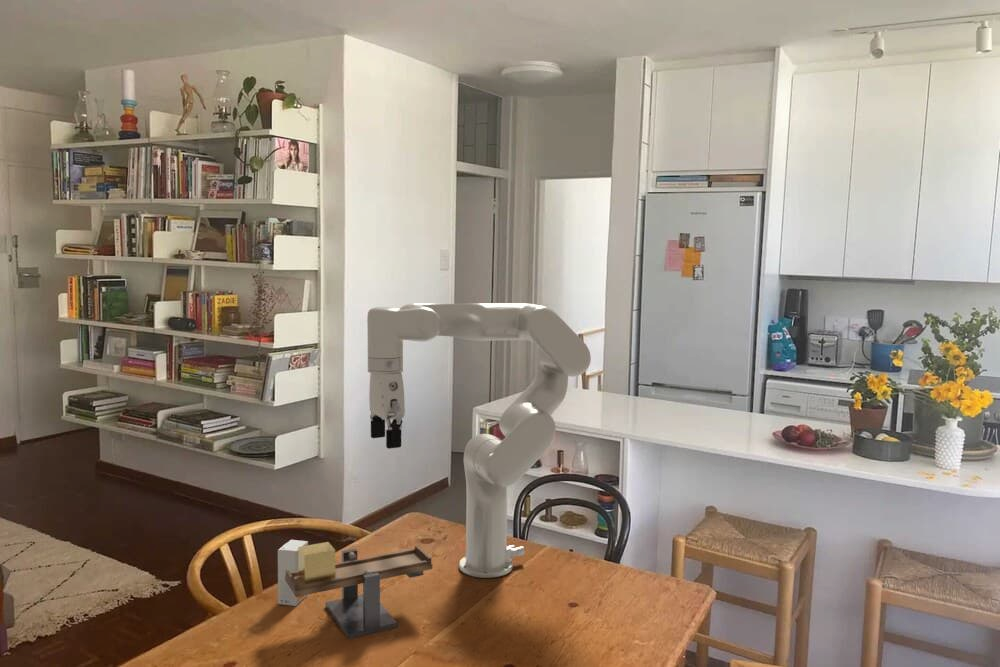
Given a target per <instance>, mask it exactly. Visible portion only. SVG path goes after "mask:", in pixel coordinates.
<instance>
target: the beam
mask: <svg viewBox="0 0 1000 667" xmlns="http://www.w3.org/2000/svg"><path fill="white" fill-rule="evenodd" d="M348 556H349V558H350V559H351V560H353V561H347V562H342V561H341V562H338V563H335V576H336V578H335V579H330V580H325V581H320V582H315V583H310V584H305V585H304V583H303V582H302V580H301V579H300V578H299V571H295V572H290V571H289V570H286V575H285V581H286V582H287V584H288V585H289V587H290V589H291V590H292V592H293V593H294V595H295V597H299V596H303V595H307V596H308V595H312V594H317V593H323V592H327V591H332V590H336V589H342V587H347V586H352V585H357V584H358V585H361V584H362V585H363V575H368V574H373V573H379V574H380V581H381V580H385V579H390V578H395V577H399V576H404V575H406V576H407V577H408V578H410V579H412V578H417V577H421V576H424V571H429V570H432V569H433V563H432V556H430V555H429V554H428V553H427V552H426V551H424V549H422V548H421V547H420V546H419V545H418V544H417V545H415V546H414V548H412V549H411V548H410V549H406V550H401V551H400V550H399V551H395V552H390V553H385V554H379V555H374V556H370V557H365V558H359V559H358V558H357V560H355V559H356V555H355V554H354V553H353V552H350V553H349V555H348Z"/></svg>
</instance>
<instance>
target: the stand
mask: <svg viewBox="0 0 1000 667" xmlns="http://www.w3.org/2000/svg"><path fill="white" fill-rule="evenodd" d="M350 552H353V553H354V554H355V555H356V559H355V560H358V549H357V548H352V549H351V548H350V549H346V550H341V563H342V562H347V561H353V560H351V559H350V558H349V556H348V555H349V553H350ZM358 585H359V584H357V585H352V586H347V587H342V588H341V595H342V598H341V599H335V600H330V601H326V602H325V608H326V610H327V611H328V612H329V614H330V615H331V617H332V619H334V621H335V623H336V624H337V625H338V627H339V628H340V630H341V631H342V633H343V634H344V635H345V637H346V639H348V640H350V639H354V638H358V637H364V636H366V635H371V634H374V633H380V632H383V631H387V630H392V629H397V628H398V622H397V620H396V619H395V618H394V617H393V616H392V615H391V613H390V612H389V611H388V610H387V609H386V608H385V606H384V605H383V604H382V603H381V580H380V574H379V573H373V574H368V575H363V583H362V594H359V591H358V590H359V589H358V588H359V587H358Z"/></svg>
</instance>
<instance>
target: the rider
mask: <svg viewBox="0 0 1000 667" xmlns="http://www.w3.org/2000/svg"><path fill="white" fill-rule="evenodd" d="M298 562H299V578H300V579H301V580H302V582H303V583H304V585H305V584H310V583H315V582H320V581H325V580H330V579H335V578H336V576H335V564H336V549H335V547H334V546H332V544H331V543H330V542H329V541H326V542H319V543H313V544H308V545H307V546H302V547H298Z"/></svg>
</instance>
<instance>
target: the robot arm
mask: <svg viewBox="0 0 1000 667" xmlns="http://www.w3.org/2000/svg"><path fill="white" fill-rule="evenodd" d="M366 322H367V326H366V328H367V372H368V373H370V375H369V377H370V378H369V395H368V396H369V412H370V415H369V418H370V438H371V439H379V438H385V437H386V438H385V444H386V445H385V447H386V449H397V448H398V449H399V448H401V447H402V429H403V425H402V424H403V418H404V417H405V416H406V410H405V409H406V404H405V389H404V388H405V386H404V379H403V372H404V341H412V342H421V343H422V342H423V343H424V342H429V341H431V340H434V339H435V338H437V337H452V338H459V339H463V340H467V341H468V340H469V341H476V342H487V341H488V342H489V341H492V342H493V341H528V342H532V343H534V344H535V345H537V348H536V352H535V354H536V355H535V356H536V363H537V364H536V365H537V367H536V372H535V375H534V378H533V380H532V382H531V383H530V384H529V385H528V386H527V387H526V389H525V390H524V391H523V392H522V393H521V394H520V395H519V396H518V397H517V398H516V399H515V400H514V401H513V402H512V403H511V404H510V405H509V407H507V408H506V409H505V410H504V412H502V414H501V415H500V418H499V420H498V422H499V423H498V428H499V430H500V432H501V433H502V435H503V436H504V438H503V439H501V438H500V437H497V436H495V435H493V434H489V433H480V434H476V435H475V436H473V437H472V438H471V439H469V441H468V442H467V443H466V446H465V448H464V451H463V465H464V466H463V467H464V475H465V485H466V486H465V487H466V488H465V489H466V490H465V491H466V504H465V505H466V510H465V512H466V513H465V518H466V519H465V556H463V557H462V558H461V559H460V560H459V564H458V566H459V570H460V571H461V572H462V573H463V574H466V575H467V576H470V577H475V578H483V579H493V578H498V577H501V576H502V577H503V576H505V575H507V574H509V573H510V572H512V570H513V569H514V563H513V560H512V559H514V558H515V557H516V556H517V557H518V556H523V555H525V553H526V550H525V547H524V546H517V547H515V545H514V544H512V545H507V543H508V542H507V540H508V539H507V538H508V537H507V536H508V529H507V528H508V487H510V486H512V485H513V484H515V483H516V482H518V481H519V480H520V479H521V478H522V477H523V476H524V475H525V474H527V472H528V471H529V470H530V469H531V468H532V467H533V466H534V465H535V464H536V462H538V460H540V458H541V457H543V455H544V454H545V453H546V452H547V451H548V450H549V448H550V447H551V445H552V444H553V442H554V440H555V436H556V432H557V429H556V428H557V426H556V423H555V419H553V417H552V415H553V413H555V412H556V411H557V409H558V407H560V406H561V404H562V403H563V401H564V399H565V398H566V394H567V392H568V384H569V377H570V378H571V377H573V378H574V377H578V376H581V375H583V374H584V373H585V372H586V371H587V370H588V369H589V367H590V365H591V361H592V360H591V359H592V358H591V352H590V349H589V347H588V346H587V344H586V342H584V340H583V339H582V338H580V336H578V334H577V333H576V332H575V331H574V330H573V329H572V328H571V327H570V326H569V325H568V324H567V323H566V322H565V320H564V319H562V318H561V317H560V316H559V314H557V313H556V312H555V311H554V310H553V309H551V308H550V307H548V306H544V305H539V304H535V303H524V302H523V303H520V302H519V303H517V302H514V303H513V302H512V303H508V302H507V303H506V302H505V303H501V302H498V303H496V302H495V303H489V302H488V303H486V302H485V303H482V302H480V303H479V302H478V303H477V302H476V303H473V302H469V303H466V302H465V303H409V304H405V305H403V306H402V307H400V308H398V307H394V306H393V307H391V306H380V307H378V306H377V307H373V308H370V309H369V310H368V312H367V320H366ZM391 421H392V422H391ZM386 427H387V429H386Z"/></svg>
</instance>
